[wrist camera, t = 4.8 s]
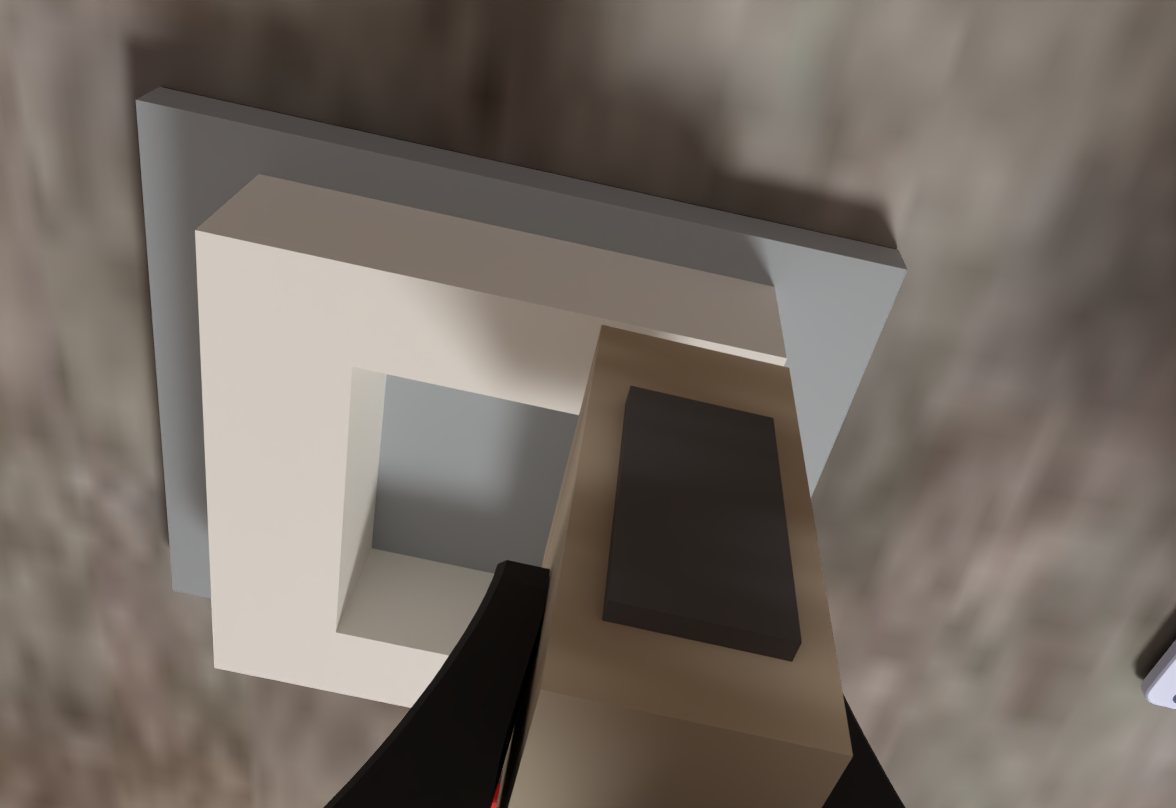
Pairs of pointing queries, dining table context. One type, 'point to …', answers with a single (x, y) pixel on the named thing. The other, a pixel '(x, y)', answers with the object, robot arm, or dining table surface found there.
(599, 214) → the slotted block
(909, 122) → the dining table surface
